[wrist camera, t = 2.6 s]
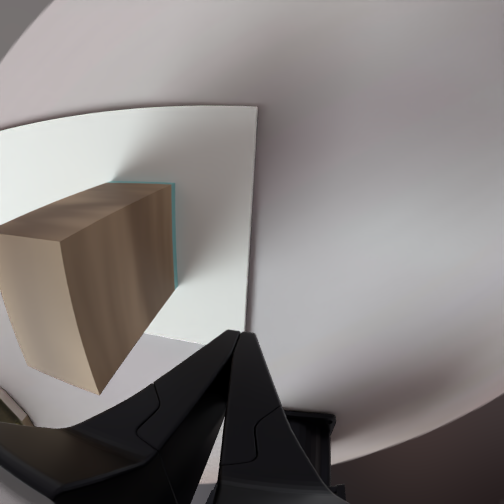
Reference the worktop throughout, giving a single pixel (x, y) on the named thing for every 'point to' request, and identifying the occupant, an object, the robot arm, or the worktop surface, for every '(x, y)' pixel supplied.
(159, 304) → the wooden block
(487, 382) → the worktop surface
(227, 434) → the robot arm
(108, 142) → the white mat
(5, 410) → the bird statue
